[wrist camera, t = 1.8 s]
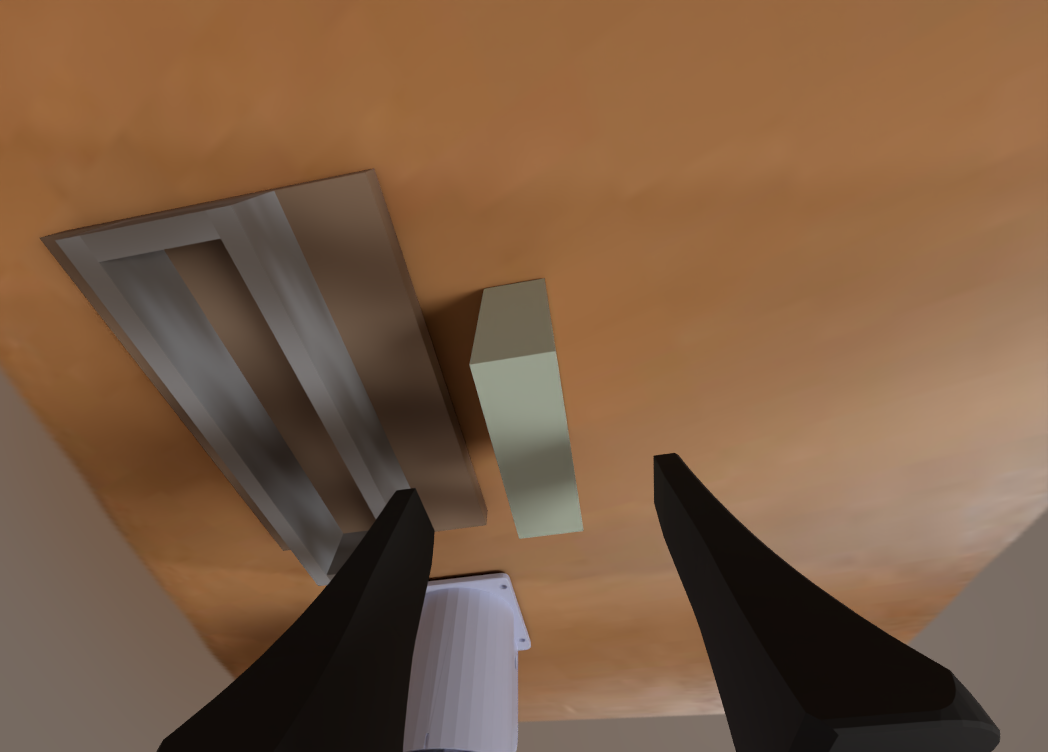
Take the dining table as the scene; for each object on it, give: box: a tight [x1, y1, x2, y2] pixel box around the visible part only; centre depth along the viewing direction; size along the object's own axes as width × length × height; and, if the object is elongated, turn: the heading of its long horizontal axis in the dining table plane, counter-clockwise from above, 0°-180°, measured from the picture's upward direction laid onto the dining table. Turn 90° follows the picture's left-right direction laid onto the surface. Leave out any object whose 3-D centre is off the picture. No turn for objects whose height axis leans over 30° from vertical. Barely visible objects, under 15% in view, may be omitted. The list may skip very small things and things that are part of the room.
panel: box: [470, 278, 583, 539], centre depth 17 cm, size 8×2×6 cm, turn 10°
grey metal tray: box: [40, 169, 488, 586], centre depth 18 cm, size 18×12×4 cm, turn 10°
